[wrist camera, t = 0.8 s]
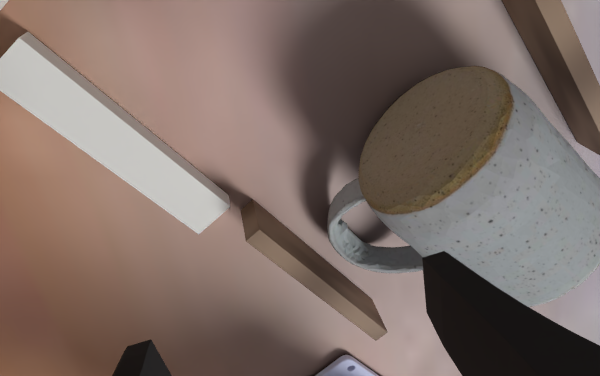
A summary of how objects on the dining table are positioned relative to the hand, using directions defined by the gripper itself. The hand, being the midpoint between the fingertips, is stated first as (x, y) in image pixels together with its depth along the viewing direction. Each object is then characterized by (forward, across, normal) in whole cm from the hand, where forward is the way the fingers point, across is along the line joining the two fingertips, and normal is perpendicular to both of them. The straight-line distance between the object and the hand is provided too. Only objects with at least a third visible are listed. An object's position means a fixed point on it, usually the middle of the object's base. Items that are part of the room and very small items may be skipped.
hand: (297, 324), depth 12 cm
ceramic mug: (+10, -8, +3) cm, 13 cm away
